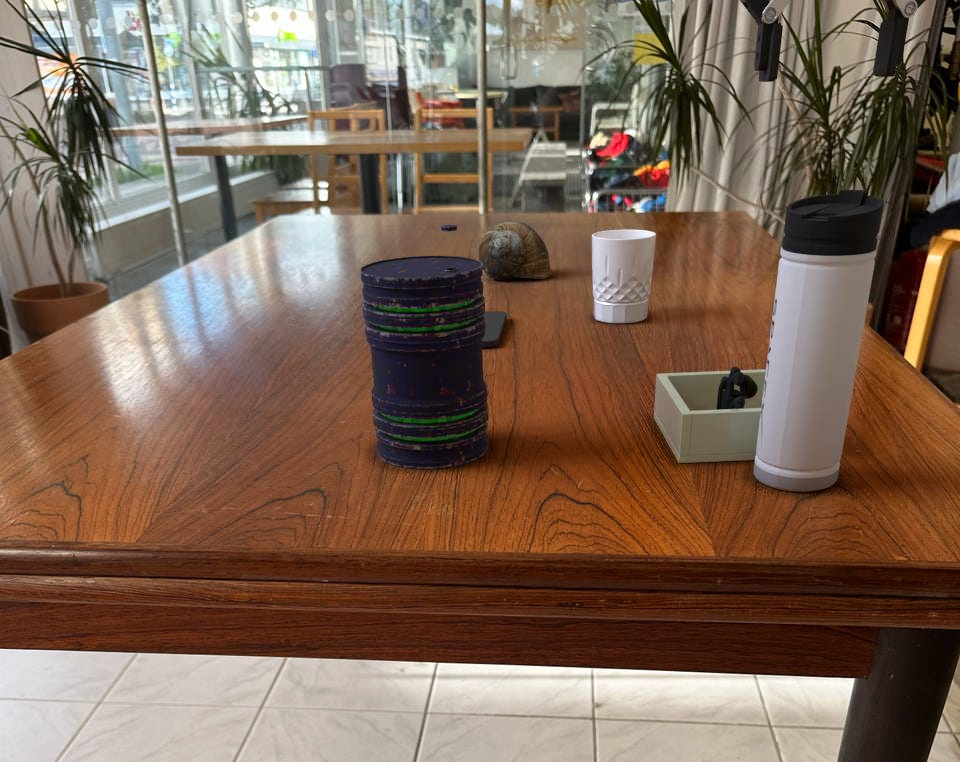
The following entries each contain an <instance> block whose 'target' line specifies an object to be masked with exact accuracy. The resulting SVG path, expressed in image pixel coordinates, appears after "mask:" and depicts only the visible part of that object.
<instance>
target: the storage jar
mask: <svg viewBox="0 0 960 762" xmlns="http://www.w3.org/2000/svg"><path fill="white" fill-rule="evenodd" d="M440 230H441V232H457V231H458V225H457V224H446V225H445V224H444V225H441V226H440ZM359 271H360V281H361V282H362V284H363V286H362V289H361V291H362V292H361V293H362V301H363V302H362V304H361V305H362V307H361V308H362V315H363V316H362V317H363V321H365V322H364V326H365V330H364V335H365V336H366V342H367V343H368V345H369V346H370V356H371V357H370V358H371V366H372V377H373V378H372V379H373V386H372V388H371V390H370V391H371V397H370V399H371V403H372V410H371V411H372V421H373V422H372V423H373V426H374V428H375V436H376V438H377V440H378V441H377V445H376V450H377V455H378V457H379V458H380V459H381V460H382V461H383V462H386V463H387V464H390V465H392V466H395V467H400V468H405V469H417V470H429V469H430V470H433V469H434V470H435V469H445V468H452V467H457V466H462V465H466V464H469V463H471V462H473V461H476V460H478V459H480V458H482V457H483V456H484V455H486V453H487V452H488V450H489V439H488V437H487V432H488V429H489V428H488V421H489V416H490V414H489V403H488V396H489V392H488V385H487V383H486V381H485V380H484V357H483V347H482V339H483V338H484V336H485V328H486V325H485V318H484V314H485V311H486V297H485V296H484V283H483V281H482V277H483V274H484V270H483V264H482V262H480V261H479V259H476V258H471V257H466V256H456V255H413V256H403V257H394V258H388V259H383V260H377V261H373V262H370V263H367V264H365V265H363V266H361V267H360V269H359Z"/></svg>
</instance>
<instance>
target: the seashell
mask: <svg viewBox="0 0 960 762" xmlns="http://www.w3.org/2000/svg"><path fill="white" fill-rule="evenodd" d="M478 260H479V261H480V262H482V264H483V273H485V274H486V275H487V276H488V277H490V278H491V279H494V280H498V281H507V280H511V279H516V278H519V279H521V278H522V279H523V278H524V279H537V280H542V279H547V278H549V277H550V276H552V275H553V271H552V269H551V264H550V256H549V250H548V248H547V246H546V243H545V241H544V240H543V239H542V237H541V236H540V234H539V233H538V232H537V231H536V230H535V229H534V228H533V227H532V226H530V225H529V224H527V223H524V222H521V221H519V220H509V221H503V222H499V223H497V224H496V225H494V226H492V227H490V228H489V229H488V230H487V231H486V232H485V233H484V235H483V236H482V238H481V240H480V242H479V245H478Z"/></svg>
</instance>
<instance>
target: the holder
mask: <svg viewBox="0 0 960 762" xmlns="http://www.w3.org/2000/svg"><path fill="white" fill-rule="evenodd" d="M730 371H731V370H715V371H713V370H712V371H695V372H694V371H693V372H692V371H691V372H690V371H689V372H688V371H687V372H668V373H656V375H655V390H654V391H655V392H654V407H653V419H654V421H655V423H656V425H657V426H658V428H659V430H660V432H661V434H662V435H663V437H664V439H665V441H666V443H667V444H668V446H669V448H670V450H671V452H672V453H673V455H674V457H675V459H676V460H677V463H678V464H689V463H692V464H693V463H714V462H715V463H716V462H732V461H733V462H737V461H738V462H739V461H755V456H756V447H757V439H758V431H759V422H760V414H761V406H762V398H763V390H764V382H765V373H766V368H765V369H764V368H763V369H740V371H741V372H742V373H743V374H744V375H749V376H750V377H751V378H752V379H753V380H754V382H755V383H756V384H757V387H758V390H757V393H756V395H755V396H754V397H752V398H750V399H745V405H744V409H723V410H716V407H717V397H718V389H719V385H720V383H721V379H722V377H724V376H726V377H729V374H730ZM734 389H735V390H738V391H740V387H739V386H737V385H735V383H734ZM723 391H724V390H723Z"/></svg>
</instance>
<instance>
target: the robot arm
mask: <svg viewBox="0 0 960 762" xmlns="http://www.w3.org/2000/svg"><path fill="white" fill-rule="evenodd" d="M739 1H740V3H741V4H742V6H743V7H744V8H745V9H746V10H747V12H748V13H749V15H750V16H751V17H752V19H753V22H754V24H756V25H757V32H756V43H755V52H754V63H753V68H754V71H755V72H758V82H761V83H771V82H773V83H774V82H775V81H776V80H777V79H778V77H779V76H778V75H779V66H780V59H781V58H780V57H781V48H782V39H783V32H784V31H783V29H784V26H783V24H782V22H779V21H780V15H781V14H782V12H783V11H784V10H785V9H786V7H787V6H789V4H790V2H791V1H792V0H739ZM926 1H927V0H880V2H881V4H882V5H883V7H884V9H885V11H886V14H887V15H886V19H882V21H881V22H880V25H879V30H878V37H877V43H876V48H875V49H876V50H875V56H874V63H873V69H872V76H874V77H876V78H890V77H895V75H896V72H897V66H899V65H900V64H901V63H902V61H903V57H904V51H905V45H906V42H907V41H906V40H907V34H908V27H909V21H910V18H912V17H914V16H915V15H916V13H917V12H918V9H920V7H921V6H922V5H923V4H924V3H925V2H926Z"/></svg>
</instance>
